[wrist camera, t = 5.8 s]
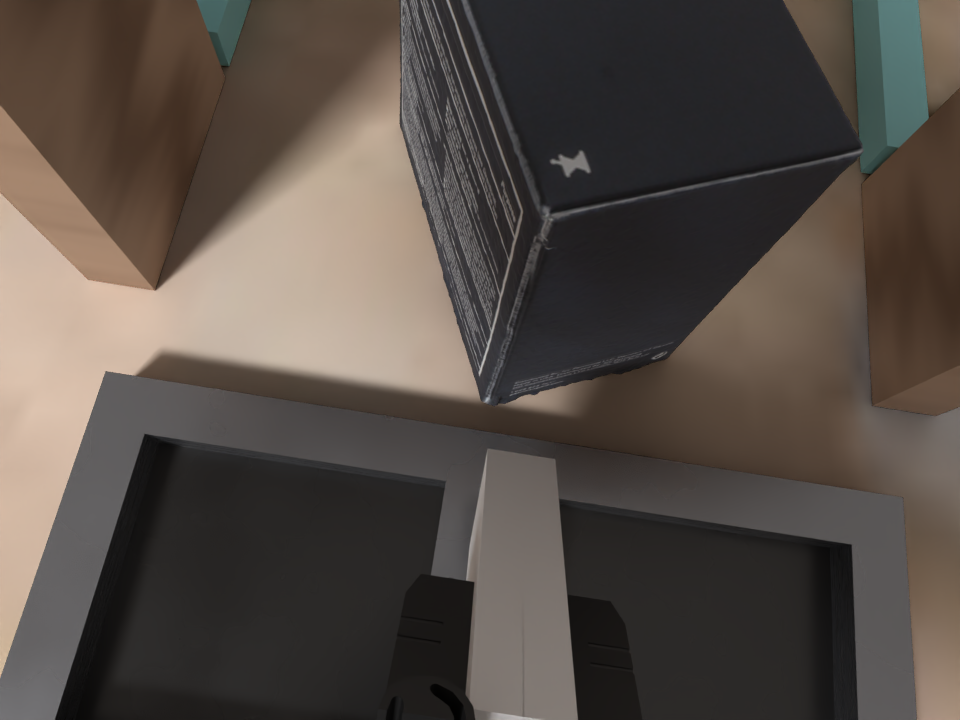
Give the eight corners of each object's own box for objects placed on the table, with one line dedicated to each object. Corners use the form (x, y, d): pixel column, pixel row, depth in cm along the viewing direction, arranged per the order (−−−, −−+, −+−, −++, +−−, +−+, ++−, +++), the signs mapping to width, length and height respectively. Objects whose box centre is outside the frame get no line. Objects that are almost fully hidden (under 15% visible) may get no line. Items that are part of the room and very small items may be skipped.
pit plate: (123, 384, 20) (106, 371, 19) (876, 503, 21) (903, 497, 20) (-9, 781, 17) (-40, 794, 16) (896, 914, 17) (930, 934, 16)
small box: (684, 360, 22) (896, 153, 12) (481, 413, 21) (531, 234, 11) (575, 86, 25) (672, -255, 15) (394, 120, 24) (373, -221, 14)
